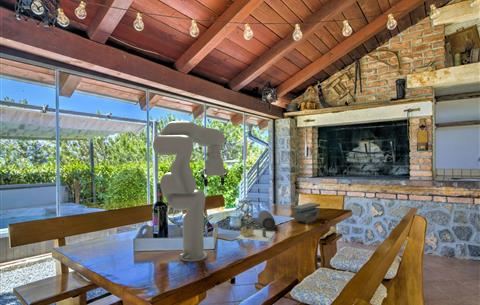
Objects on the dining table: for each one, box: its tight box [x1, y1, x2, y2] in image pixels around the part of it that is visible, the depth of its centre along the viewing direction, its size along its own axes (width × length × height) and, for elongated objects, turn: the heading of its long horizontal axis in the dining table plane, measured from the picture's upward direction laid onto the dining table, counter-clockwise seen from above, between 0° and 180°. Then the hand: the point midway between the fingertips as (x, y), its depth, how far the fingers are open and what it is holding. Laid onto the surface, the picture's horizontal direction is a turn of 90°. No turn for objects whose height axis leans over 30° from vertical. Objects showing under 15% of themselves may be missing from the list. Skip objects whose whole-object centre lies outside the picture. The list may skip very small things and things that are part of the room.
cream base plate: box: [236, 227, 276, 242], centre depth 166 cm, size 20×18×6 cm
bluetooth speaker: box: [257, 210, 276, 231], centre depth 187 cm, size 23×9×10 cm, turn 2°
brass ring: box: [240, 225, 255, 237], centre depth 166 cm, size 7×7×4 cm
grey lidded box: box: [291, 202, 321, 224], centre depth 206 cm, size 25×8×11 cm, turn 135°
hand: (214, 185), depth 162 cm, fingers open, 9 cm apart
